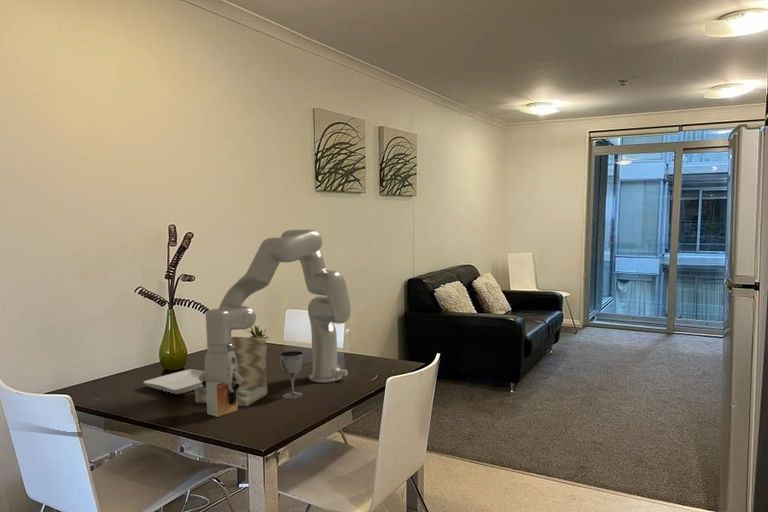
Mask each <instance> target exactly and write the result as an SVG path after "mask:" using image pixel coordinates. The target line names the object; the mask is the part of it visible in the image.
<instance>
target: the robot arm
mask: <svg viewBox="0 0 768 512" xmlns="http://www.w3.org/2000/svg"><path fill="white" fill-rule="evenodd" d="M322 245H323V238H322V236H321V234H320V233H319V232H318V231H317V230H313V229H288V230H286V231H283V233H281V235H280V237H268V238H265V239H264V240H263V241H262V242H261V243H260V245H259V247H258V250H257V252H256V254H255V256H254V258H253V259H252V261H251V263H250V265H249V267H248V269H247V271H246V273H244V275H243V276H242V277H241V278H239V279H238V280H237V281H236V282H235V283H234V284H232V285H231V287H230V288H229V289H228V290H227V292H226V293H225V295H224V297H223V299H222V300H221V302H220V304H219V307H218V308H212V309H210V310H207V312H206V313H205V327H206V350H207V352H206V353H205V357H204V367H203V368H204V370H203V371H204V373H202V374H201V375H200V376H199V380H200V381H201V383H202V385H203V386H204V387H203V388H205V390H206V382H223V383H224V384H227V386H228V388H229V390H230V392H229V404H230V405H232V404H234V403H235V402H236V400H237V393H236V390H238V388H239V387H240V386H241V384H242V383H243V382H244V378H243V377H242V376H241V375H239V373H238V364H237V359H236V355H235V352H234V351H232V349H235V345H232V339H231V337H232V331H233V330H234V331H236V330H248V329H249V328H250V327H253V325H255V323H256V321H257V315H256V312H255V310H253V308H251V307H249V306H246V305H243V304H244V302H245V301H246V300H247V299H248V298H249V297H250V296H251V295H253V294H255V293H257V292H258V291H261V290H263V289H265V288H267V287H268V286H269V285H270V283H271V281H272V279H273V276H274V275H275V273H276V272H277V269H278V267H279V265H280V263H292V262H293V263H294V262H296V261H299V262H300V264H301V268H302V269H301V270H302V273H303V276H304V281H305V286H306V289H307V291H308V292H309V294H312V295H316V297H314V298H312V299H311V300H310V301H309V303H308V306H307V314H308V319H309V323H310V330H311V354H312V355H311V357H312V373H310V374H309V375H308V379H309V381H311V382H313V383H320V384H321V383H331V382H333V383H334V382H336V381H338V380H339V381H340V380H341V379H342V377H345V376H348V370H347V369H345V368H341V365H340V364H338V345H337V341H338V338H337V336H338V335H337V329H336V326H335V324H339V325H340V324H344V323H346V322H348V320H349V319H350V317H351V314H352V313H351V311H352V309H351V302H350V297H349V291H348V287H347V282H346V279H345V277H344V275H342V273H341V272H339V271H337V270H330V269H329V270H328V269H327V267H326V264H325V260H324V257H323V254H322V251H321V250H320V249H321V248H322ZM234 380H235V381H237V380H238V382H237V383H235V381H234Z"/></svg>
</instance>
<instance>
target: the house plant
mask: <svg viewBox="0 0 768 512" xmlns="http://www.w3.org/2000/svg"><path fill="white" fill-rule="evenodd" d="M249 328H250V330H249V329H247V332H248V333H247V334H249V335H250V337H253V338H265V352H266V353H267V348H268V347H267V344H266V342H267V341H268V339H269V336H267V334H266V332H267V331H266V330H267V328H265V329H264V331H263V329H261V330H260V325H259V326H258V325H257V326H256V325H254V329H253V326H251V327H249ZM271 328H273V326H272V327H270V329H271ZM241 330H242V331H245V332H246V329H241Z"/></svg>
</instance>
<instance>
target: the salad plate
mask: <svg viewBox="0 0 768 512" xmlns="http://www.w3.org/2000/svg"><path fill="white" fill-rule="evenodd" d="M202 373H204V370H199V369H194V368H193V369H192V368H189V369H184V370H181V371H177V372H172V373H169V374H164V375H161V376H158V377H154V378H151V379H146V380H145V381H143V384H144V385H145V386H147V387H149V388H152V389H156V390H158V389H159V390H158V391H161V390H163V391H162V392H165V391H166V393H168V392H170V393H169V394H172V393H174V394H173V395H183V394H186V392H187V393H190V392H193V391H195V388H197V387H201V388H202V387H203V388H205V387H204V386H203V385H202V383H201V381H200V380H199V376H200V375H201V374H202ZM192 390H193V391H192ZM189 391H190V392H189ZM182 393H183V394H182Z"/></svg>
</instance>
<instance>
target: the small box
mask: <svg viewBox="0 0 768 512" xmlns="http://www.w3.org/2000/svg"><path fill="white" fill-rule="evenodd" d="M234 381H235V380H234ZM235 383H237V381H235ZM229 392H230V390H229V388H228V386H227V384H224V383H223V382H206V394H207V403H206V411H207V412H206V414H207V415H209V416H213V417H215V418H216V417H217V418H219V417H221V416H225V415H227V414H230V413H234V412H237V411H238V410H239V409H238V408H239V407H238V404H237V400H236V402H235V403H234V404H232V405H230V404H229ZM236 393H237V390H236Z"/></svg>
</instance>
